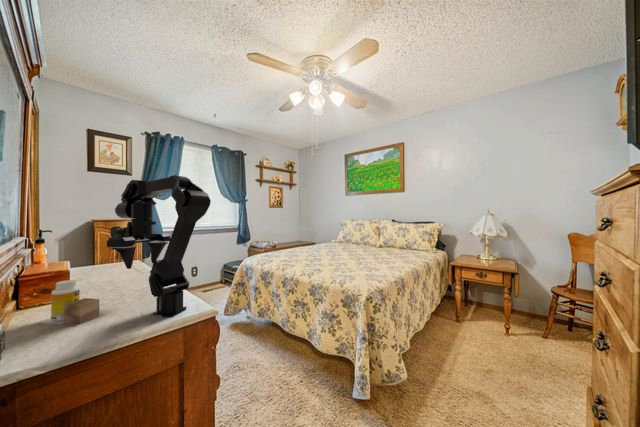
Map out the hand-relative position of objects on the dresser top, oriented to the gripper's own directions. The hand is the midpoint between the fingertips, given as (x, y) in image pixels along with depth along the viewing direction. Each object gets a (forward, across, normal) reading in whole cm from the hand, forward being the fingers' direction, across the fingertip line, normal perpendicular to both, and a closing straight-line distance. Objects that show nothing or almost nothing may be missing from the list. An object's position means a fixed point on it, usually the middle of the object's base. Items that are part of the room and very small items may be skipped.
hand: (141, 265), depth 80 cm
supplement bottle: (+13, +13, -12) cm, 22 cm away
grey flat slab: (+13, +13, -9) cm, 20 cm away
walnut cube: (+13, +13, -6) cm, 19 cm away
